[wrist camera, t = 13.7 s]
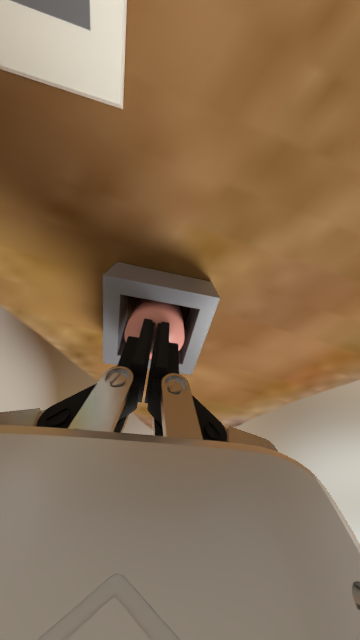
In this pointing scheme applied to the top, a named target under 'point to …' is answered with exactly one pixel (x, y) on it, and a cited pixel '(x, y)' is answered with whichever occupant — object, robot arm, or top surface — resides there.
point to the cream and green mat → (67, 45)
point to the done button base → (163, 289)
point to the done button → (157, 320)
